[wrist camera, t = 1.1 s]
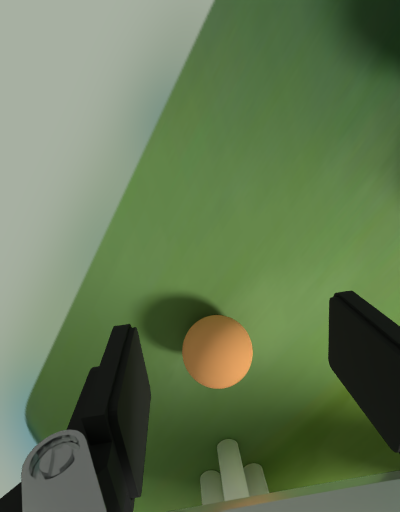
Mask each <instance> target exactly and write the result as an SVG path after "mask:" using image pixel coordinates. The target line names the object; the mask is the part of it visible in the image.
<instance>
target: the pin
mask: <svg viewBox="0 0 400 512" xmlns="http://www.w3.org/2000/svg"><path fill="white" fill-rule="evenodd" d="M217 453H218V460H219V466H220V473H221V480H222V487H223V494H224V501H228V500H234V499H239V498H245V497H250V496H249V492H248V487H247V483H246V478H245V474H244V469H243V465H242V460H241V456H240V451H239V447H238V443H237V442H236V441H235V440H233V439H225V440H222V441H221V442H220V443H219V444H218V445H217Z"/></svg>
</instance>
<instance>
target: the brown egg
mask: <svg viewBox="0 0 400 512" xmlns="http://www.w3.org/2000/svg"><path fill="white" fill-rule="evenodd" d="M182 354H183V361H184V364H185V366H186V369H187V370H188V372H189V374H190V375H191V376H192V377H193V378H194V379H195V380H196V381H197V382H199V383H200V384H202V385H204V386H206V387H209V388H215V389H221V388H227V387H230V386H232V385H234V384H236V383H238V382H239V381H240V380H241V379H242V378H243V377H244V376H245V375H246V373H247V372H248V370H249V368H250V365H251V362H252V355H253V350H252V343H251V340H250V337H249V335H248V333H247V332H246V330H245V329H244V328H243V327H242V326H241V325H240V324H239V323H238V322H237V321H235V320H234V319H232V318H229V317H226V316H222V315H211V316H207V317H204V318H202V319H200V320H199V321H197V322H196V323H195V324H194V325H193V326H192V327H191V328H190V329H189V331H188V332H187V334H186V336H185V339H184V342H183V349H182Z"/></svg>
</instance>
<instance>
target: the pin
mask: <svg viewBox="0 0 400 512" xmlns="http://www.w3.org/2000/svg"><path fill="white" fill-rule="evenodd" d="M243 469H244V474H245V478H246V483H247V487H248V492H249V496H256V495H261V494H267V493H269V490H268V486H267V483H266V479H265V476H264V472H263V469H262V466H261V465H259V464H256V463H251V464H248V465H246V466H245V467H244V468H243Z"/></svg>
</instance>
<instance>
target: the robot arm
mask: <svg viewBox="0 0 400 512" xmlns="http://www.w3.org/2000/svg"><path fill="white" fill-rule="evenodd" d="M328 359H329V364H330V367H331V369H332V370H333V371H334V373H335V374H336V375H337V377H338V378H339V380H340V381H341V382H342V384H343V385H344V386H345V388H346V389H347V390H348V392H349V393H350V394H351V396H352V397H353V398H354V400H355V401H356V402H357V404H358V405H359V406H360V408H361V409H362V411H363V412H364V413H365V415H366V416H367V417H368V419H369V420H370V421H371V423H372V424H373V425H374V427H375V428H376V429H377V431H378V432H379V433H380V435H381V436H382V438H383V439H384V440H385V442H386V443H387V444H388V446H389V447H390V448H391V449H392V450H393V451H394V452H396V453H397V452H399V453H400V326H398V325H397V324H396V323H394V322H393V321H392V320H390V319H389V318H388V317H387V316H385V315H384V314H383V313H381V312H380V311H379V310H377V309H376V308H375V307H373V306H372V305H371V304H369V303H368V302H367V301H365V300H364V299H363V298H361V297H360V296H359V295H357V294H356V293H355V292H353V291H345V292H338V293H335V294H334V296H333V297H332V298H330V301H329V352H328ZM150 400H151V392H150V385H149V381H148V376H147V371H146V367H145V362H144V358H143V353H142V349H141V344H140V340H139V335H138V331H137V328H136V327H134V328H132V327H131V325H130V324H126V325H120V326H114V327H113V330H112V332H111V335H110V338H109V341H108V344H107V346H106V349H105V352H104V355H103V358H102V360H101V363H100V366H98V367H93V368H91V370H90V372H89V374H88V377H87V379H86V382H85V384H84V387H83V389H82V392H81V395H80V397H79V400H78V402H77V405H76V407H75V410H74V412H73V415H72V417H71V420H70V423H69V425H68V428H67V430H64V431H60V432H57V433H54V434H52V435H50V436H49V437H47V438H45V439H44V440H42V441H41V442H40V443H39V444H38V445H37V446H35V447H34V448H33V450H32V451H31V452H30V453H29V455H28V456H27V458H26V460H25V462H24V464H23V467H22V473H21V478H22V479H21V481H22V482H21V483H19V484H18V485H17V486H16V487H14V488H13V489H12V490H11V491H9V492H8V493H7V494H6V495H4V496H3V497H2V498H1V499H0V512H133V508H134V499H135V498H137V497H140V496H141V492H142V482H143V472H144V462H145V451H146V441H147V431H148V420H149V410H150ZM168 512H400V470H399V471H393V472H387V473H381V474H375V475H369V476H364V477H358V478H352V479H346V480H341V481H335V482H329V483H323V484H318V485H312V486H306V487H301V488H295V489H289V490H284V491H278V492H272V493H267V494H261V495H256V496H250V497H245V498H239V499H234V500H228V501H223V502H217V503H212V504H206V505H201V506H195V507H190V508H184V509H179V510H173V511H168Z"/></svg>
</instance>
